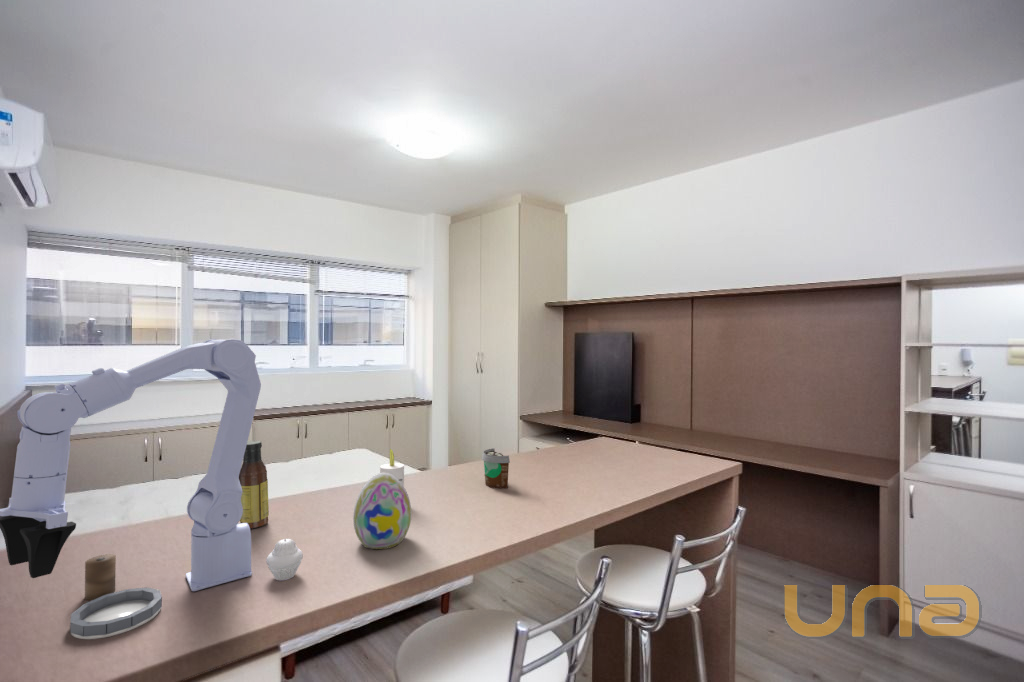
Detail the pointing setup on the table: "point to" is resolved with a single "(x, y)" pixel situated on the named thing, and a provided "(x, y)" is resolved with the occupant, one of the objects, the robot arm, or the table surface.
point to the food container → (495, 469)
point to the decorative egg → (382, 512)
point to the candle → (393, 468)
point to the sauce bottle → (254, 487)
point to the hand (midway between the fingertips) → (30, 569)
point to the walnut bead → (100, 576)
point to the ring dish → (115, 613)
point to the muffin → (284, 559)
